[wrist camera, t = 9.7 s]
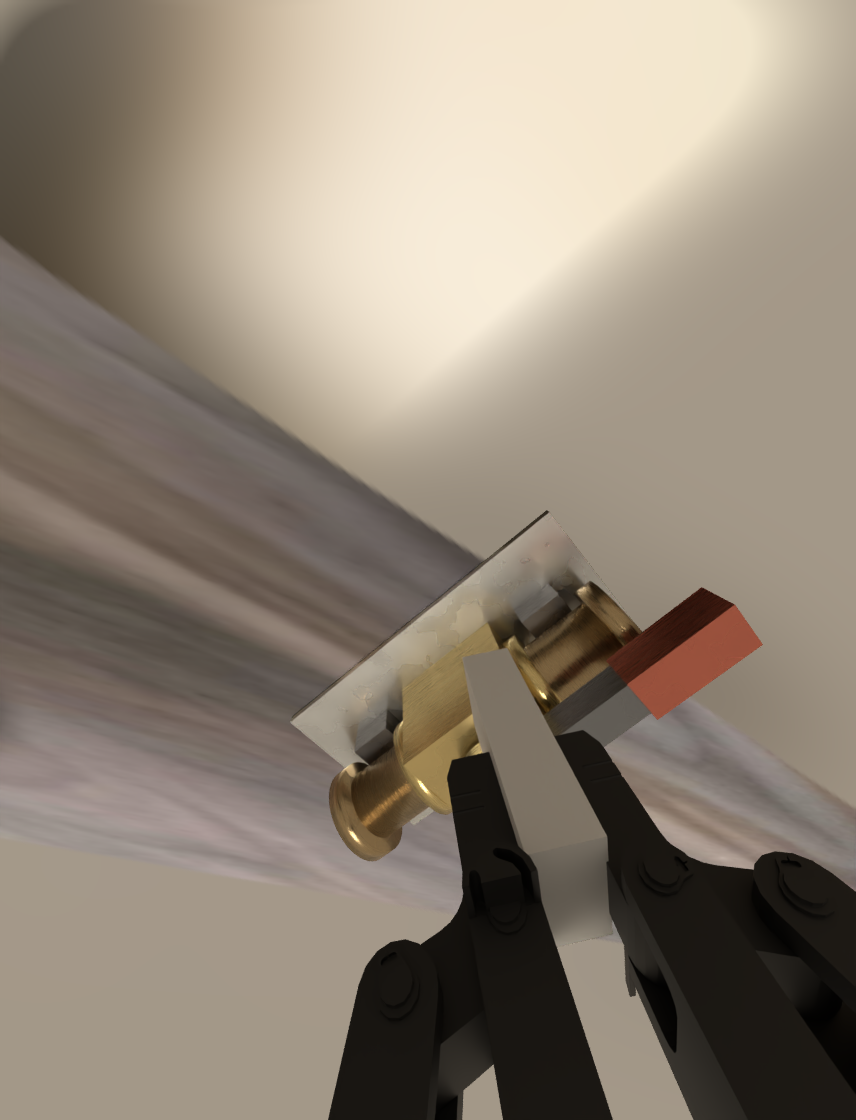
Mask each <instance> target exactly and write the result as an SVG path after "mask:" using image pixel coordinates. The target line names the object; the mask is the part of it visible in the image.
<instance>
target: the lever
mask: <svg viewBox="0 0 856 1120" xmlns="http://www.w3.org/2000/svg"><path fill="white" fill-rule="evenodd" d="M762 645H763V644H762V643H761V641H760V640H759V639H758V637H757V636H756V634H755V633H754V631H753V630H752V628H751V627H750V626H749V624H748V623H747V621H746V620H745V618H744V617H743V616H742V614H741V613H740V611H739V610H738V608H737V607H736V606H735V605H734V604H733V603H731V602H728V601H727V600H725V599H723V598H721V597H719V596H717V595H715V594H713V593H712V592H710V591H708V590H706V589H704V588H700V589H699V590H698V591H696V592H695V593H693V594H692V595H691V596H690V597H688V598H687V599H686V600H684V601H683V602H682V603H680V604H679V605H678V606H676V607H675V608H674V609H672V610H671V611H670V612H668V613H667V614H666V615H664V616H663V617H662V618H660V619H659V620H658V621H656V622H655V623H654V624H653V625H651V626H650V627H649V628H647V629H646V630H645V631H643V632H642V633H641V634H639V635H638V636H637V637H635V638H634V639H633V640H631V641H630V642H629V643H627V644H626V645H625V646H623V647H622V648H621V649H620V650H618V651H617V652H616V653H614V654H613V655H612V656H610V657H609V658H608V659H606V662H607V663H608V664H609V665H610V666H608V667H607V668H606V669H604V670H603V671H602V672H600V673H599V674H598V675H596V676H595V677H594V678H592V679H591V680H590V681H588V682H587V683H586V684H584V685H583V686H582V687H580V688H579V689H578V690H576V691H575V692H574V693H572V694H571V695H570V696H569V697H567V698H566V699H565V700H563V701H562V702H561V703H559V704H558V705H557V706H555V707H554V708H553V709H551V710H550V711H549V712H547V713H546V714H545V715H543V717H544V718H545V720H546V722H547V724H548V726H549V728H550V730H551V732H552V733H553V735H554V736H557V735H562V734H566V733H571V732H575V731H580V730H584V731H585V732H587V733H588V734H590V735H591V736H592V737H594V738H595V739H596V740H598V741H599V742H600V743H601V744H602V746H603V747H605V746H606V745H607V744H609V743H610V742H612V741H613V740H614V739H616V738H617V737H619V736H620V735H621V734H623V733H624V732H625V731H627V730H628V729H630V728H631V727H632V726H634V725H635V724H637V723H638V722H639V721H641V720H642V719H644V718H645V717H646V716H648V715H649V714H651V713H652V714H653V715H654V716H655V717H656V719H657V720H658V719H659V718H661V717H662V716H664V715H665V714H666V713H668V712H669V711H671V710H672V709H673V708H675V707H676V706H678V705H679V704H680V703H682V702H683V701H685V700H686V699H687V698H689V697H690V696H692V695H693V694H694V693H696V692H697V691H699V690H700V689H701V688H703V687H704V686H706V685H707V684H708V683H710V682H711V681H713V680H714V679H715V678H717V677H718V676H720V675H721V674H722V673H724V672H725V671H727V670H728V669H729V668H731V667H732V666H734V665H735V664H736V663H738V662H739V661H741V660H742V659H743V658H745V657H746V656H748V655H749V654H750V653H752V652H753V651H754V650H756V649H757V648H759V647H760V646H762ZM481 753H482V750H481V746H480V743H478V744H476V745H475V746H473V747H472V748H471V749H470V750H469V751H468V753H467V754H466V756H465V757H467V756H472V755H476V754H481Z"/></svg>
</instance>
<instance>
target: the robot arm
mask: <svg viewBox="0 0 856 1120" xmlns="http://www.w3.org/2000/svg"><path fill="white" fill-rule="evenodd" d="M462 659H463V665H464V670H465V676H466V681H467V687H468V693H469V698H470V704H471V709H472V715H473V720H474V725H475V729H476V732H477V736H478V739H479V743H480V746H481V750H482V753H481V754H476V755H472V756H467V757H463V758H458V759H453V760H452V761H451V765H450V768H449V772H448V775H447V782H448V788H449V794H450V799H451V806H452V812H453V818H454V824H455V830H456V836H457V842H458V848H459V853H460V859H461V865H462V871H463V872H462V889H463V898H462V902H461V905H460V907H459V909H458V912H457V913H456V915H455V916H454V918H453V919H452V920H451V922H450V923H449V924H448V925H447V926H445V927H444V928H443V929H442V930H441V931H440V932H438V933H437V934H435V935H434V936H432V937H431V938H429V939H428V940H427V941H425V942H424V943H422V944H421V945H420V944H418V943H415V942H412V941H409V940H406V939H405V940H399V941H394V942H390V943H389V944H387V945H386V946H385V947H383V948H381V949H380V950H378V951H377V952H376V954H375V955H374V956H373V957H372V959H371V960H370V961H369V963H368V964H367V966H366V968H365V970H364V973H363V975H362V978H361V981H360V983H359V986H358V991H357V995H356V999H355V1004H354V1008H353V1012H352V1017H351V1021H350V1026H349V1030H348V1034H347V1039H346V1043H345V1048H344V1052H343V1057H342V1061H341V1065H340V1070H339V1074H338V1079H337V1083H336V1088H335V1092H334V1096H333V1100H332V1105H331V1109H330V1114H329V1118H328V1120H462V1112H463V1110H462V1109H463V1090H464V1089H465V1088H467V1087H468V1086H469V1085H470V1084H471V1083H472V1082H474V1081H475V1080H476V1079H477V1078H478V1077H479V1076H481V1075H482V1074H483V1073H484V1072H485V1071H486V1070H487V1069H489V1068H490V1067H491V1066H492V1065H493V1064H494V1068H495V1075H496V1080H497V1087H498V1092H499V1098H500V1104H501V1110H502V1116H503V1120H613V1119H612V1116H611V1113H610V1110H609V1107H608V1103H607V1100H606V1097H605V1094H604V1091H603V1088H602V1085H601V1082H600V1079H599V1076H598V1073H597V1069H596V1066H595V1064H594V1060H593V1057H592V1054H591V1051H590V1048H589V1045H588V1042H587V1039H586V1036H585V1033H584V1030H583V1026H582V1023H581V1020H580V1017H579V1014H578V1011H577V1008H576V1005H575V1002H574V999H573V996H572V993H571V990H570V987H569V983H568V980H567V977H566V974H565V971H564V968H563V965H562V962H561V959H560V956H559V953H558V950H557V947H560V946H564V945H569V944H573V943H577V942H582V941H586V940H590V939H594V938H599V937H603V936H607V935H611V934H613V931H612V920H613V922H614V924H615V926H616V928H617V931H618V933H619V935H620V937H621V939H622V942H623V944H624V950H625V975H626V984H627V987H628V991H629V995H630V997H631V996H635V995H636V989H637V991H638V994H639V996H640V999H641V1001H642V1003H643V1005H644V1007H645V1010H646V1012H647V1014H648V1017H649V1019H650V1021H651V1024H652V1026H653V1028H654V1030H655V1033H656V1035H657V1037H658V1040H659V1042H660V1044H661V1047H662V1049H663V1051H664V1053H665V1056H666V1058H667V1060H668V1063H669V1065H670V1067H671V1069H672V1072H673V1074H674V1076H675V1079H676V1081H677V1083H678V1085H679V1088H680V1090H681V1092H682V1094H683V1097H684V1099H685V1101H686V1104H687V1106H688V1108H689V1111H690V1113H691V1115H692V1117H693V1119H694V1120H856V892H855V891H854V890H853V889H851V888H850V887H849V886H848V885H846V884H845V883H844V882H843V881H841V880H840V879H839V878H837V877H836V876H835V875H834V874H832V873H831V872H829V871H828V870H826V869H825V868H823V867H821V866H820V865H818V864H817V863H815V862H814V861H812V860H809V859H806V858H804V857H801V856H798V855H796V854H793V853H785V852H772V853H768V854H765V855H762V856H761V857H760V858H759V859H758V861H757V862H756V863H755V864H754V870H752V869H743V868H734V867H726V866H717V865H712V864H707V863H703V862H700V861H698V860H695V859H693V858H691V857H689V856H687V855H686V854H685V853H684V852H682V851H681V850H679V849H678V848H676V847H674V846H673V845H671V844H670V843H669V842H668V841H667V840H666V839H665V838H664V836H663V835H662V834H661V833H660V831H659V830H658V828H657V827H656V825H655V824H654V822H653V821H652V819H651V818H650V816H649V815H648V813H647V812H646V810H645V809H644V807H643V806H642V804H641V803H640V801H639V800H638V798H637V797H636V795H635V794H634V792H633V791H632V789H631V788H630V786H629V785H628V783H627V782H626V780H625V779H624V777H622V776H621V773H620V771H619V770H618V768H617V767H616V765H615V764H614V763H613V762H612V759H611V758H610V756H609V755H608V753H607V752H606V750H605V749H604V747H603V746H602V744H601V743H600V742H599V741H598V740H596V739H595V738H594V737H592V736H591V735H590V734H588V733H587V732H585V731H584V730H580V731H575V732H571V733H566V734H562V735H557V736H554V735H553V733H552V732H551V730H550V728H549V726H548V724H547V722H546V720H545V718H544V717H543V715H542V713H541V711H540V709H539V707H538V705H537V703H536V701H535V700H534V698H533V696H532V694H531V692H530V690H529V688H528V686H527V685H526V683H525V681H524V679H523V677H522V675H521V673H520V671H519V669H518V668H517V666H516V664H515V662H514V660H513V658H512V656H511V654H510V653H509V651H508V649H507V648H504V649H499V650H494V651H490V652H485V653H480V654H475V655H471V656H466V657H462ZM635 987H636V989H635Z"/></svg>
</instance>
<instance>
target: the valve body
mask: <svg viewBox="0 0 856 1120" xmlns="http://www.w3.org/2000/svg"><path fill="white" fill-rule="evenodd" d="M641 633H642V631H641V630H640V629H639V628H638V626H637V625H636V624H635V623H634V622H633V621H632V619H631V618H630V616H628V614H627V613H626V611H625V610H624V609H623V608H622V606H621V605H620V603H619V602H618V601H617V600H616V598H615V597H614V596H613V594H612V593H611V592H610V590H609V589H608V588H607V587H606V585H605V584H604V583H603V581H602V580H601V579H600V577H599V576H598V575H597V573H596V572H595V571H594V569H593V568H592V567H591V566H590V564H589V563H588V562H587V560H586V559H585V558H584V556H583V555H582V554H581V553H580V551H579V550H578V549H577V547H576V546H575V545H574V543H573V542H572V541H571V539H570V538H569V537H568V535H567V534H566V533H565V532H564V530H563V529H562V528H561V526H560V525H559V524H558V522H557V521H556V520H555V519H554V517H553V516H552V515H551V513H550V512H549V511H545V512H544V513H543V514H542V515H540V516H539V517H538V518H537V519H535V520H534V521H533V522H532V523H530V524H529V525H528V526H527V527H526V528H524V529H523V530H522V531H521V532H519V533H518V534H517V535H516V536H515V537H514V538H512V539H511V540H510V541H508V542H507V543H506V544H505V545H503V546H502V547H501V548H500V549H499V550H497V551H496V552H495V553H494V554H493V555H491V556H490V557H489V558H487V559H486V560H485V561H484V562H482V563H481V564H480V565H479V566H478V567H476V568H475V569H474V570H473V571H471V572H470V573H469V574H468V575H466V576H465V577H464V578H463V579H462V580H460V581H459V582H458V583H457V584H455V585H454V586H453V587H452V588H450V589H449V590H448V591H447V592H446V593H444V594H443V595H442V596H441V597H439V598H438V599H437V600H436V601H435V602H433V603H432V604H431V605H430V606H428V607H427V608H426V609H425V610H423V611H422V612H421V613H420V614H419V615H417V616H416V617H415V618H414V619H412V620H411V621H410V622H409V623H407V624H406V625H405V626H404V627H403V628H401V629H400V630H399V631H398V632H396V633H395V634H394V635H393V636H391V637H390V638H389V639H388V640H387V641H385V642H384V643H383V644H382V645H380V646H379V647H378V648H377V649H375V650H374V651H373V652H372V653H371V654H369V655H368V656H367V657H366V658H364V659H363V660H362V661H361V662H359V663H358V664H357V665H356V666H355V667H353V668H352V669H351V670H350V671H348V672H347V673H346V674H345V675H343V676H342V677H341V678H340V679H339V680H337V681H336V682H335V683H334V684H332V685H331V686H330V687H329V688H327V689H326V690H325V691H324V692H323V693H321V694H320V695H319V696H318V697H316V698H315V699H314V700H313V701H311V702H310V703H309V704H308V705H307V706H305V707H304V708H303V709H302V710H300V711H299V712H298V713H297V714H296V715H294V716H293V717H292V719H291V722H290V723H292V724H293V725H294V726H295V727H296V728H298V729H299V730H300V731H301V732H302V733H304V734H305V735H306V736H307V737H308V738H310V739H311V740H312V741H313V742H314V743H316V744H317V745H318V746H319V747H320V748H322V749H323V750H324V751H325V752H326V753H328V754H329V755H330V756H331V757H332V758H334V759H335V760H336V761H337V762H338V763H340V764H341V765H342V766H343V767H344V768H345V769H344V770H343V771H341V772H340V773H339V774H337V775H336V776H335V778H334V779H333V781H332V783H331V786H330V792H329V804H330V811H331V815H332V818H333V821H334V824H335V826H336V829H337V831H338V833H339V835H340V837H341V838H342V840H343V841H344V843H345V844H346V845H347V847H348V848H349V849H350V850H351V851H352V852H353V853H354V854H356V855H357V856H358V857H360V858H362V859H364V860H367V861H377V860H379V859H381V858H382V857H384V856H385V855H386V854H388V853H389V852H391V851H392V850H393V849H395V848H396V847H397V845H398V844H399V842H400V839H401V835H402V826H404V825H405V824H406V823H408V822H411V823H412V824H413V825H415V824H417V823H418V822H420V821H421V820H422V819H424V818H425V817H426V816H428V815H429V814H431V813H432V812H433V811H436V812H438V813H440V814H444V815H446V814H450V813H451V812H452V806H451V799H450V794H449V788H448V782H447V775H448V772H449V768H450V765H451V761H452V760H453V759H458V758H463V757H465V756H466V754H467V753H468V751H469V750H470V749H471V748H472V747H473V746H475V745H476V744H478V743H479V739H478V736H477V732H476V729H475V725H474V720H473V715H472V709H471V704H470V698H469V693H468V687H467V681H466V676H465V670H464V665H463V659H462V657H466V656H471V655H475V654H480V653H485V652H490V651H494V650H499V649H504V648H507V649H508V651H509V653H510V654H511V656H512V658H513V660H514V662H515V664H516V666H517V668H518V669H519V671H520V673H521V675H522V677H523V679H524V681H525V683H526V685H527V686H528V688H529V690H530V692H531V694H532V696H533V698H534V700H535V701H536V703H537V705H538V707H539V709H540V711H541V713H542V715H545V714H546V713H547V712H549V711H550V710H551V709H553V708H554V707H555V706H557V705H558V704H559V703H561V702H562V701H563V700H565V699H566V698H567V697H569V696H570V695H571V694H572V693H574V692H575V691H576V690H578V689H579V688H580V687H582V686H583V685H584V684H586V683H587V682H588V681H590V680H591V679H592V678H594V677H595V676H596V675H598V674H599V673H600V672H602V671H603V670H604V669H606V668H607V667H608V666H610V665H609V664H608V663H607V662H606V659H608V658H609V657H610V656H612V655H613V654H614V653H616V652H617V651H618V650H620V649H621V648H622V647H623V646H625V645H626V644H627V643H629V642H630V641H631V640H633V639H634V638H635V637H637V636H638V635H639V634H641Z"/></svg>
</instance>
